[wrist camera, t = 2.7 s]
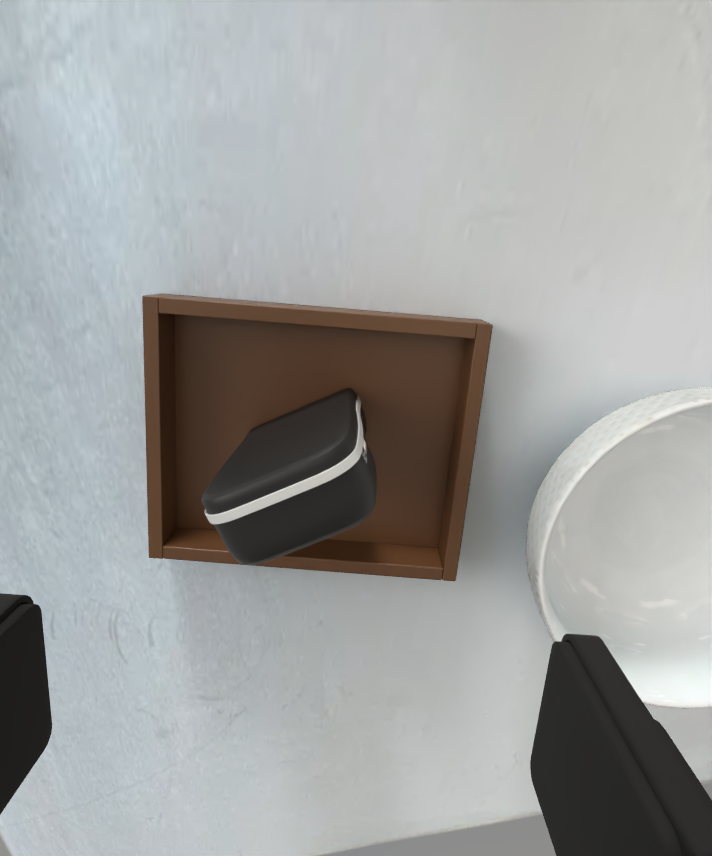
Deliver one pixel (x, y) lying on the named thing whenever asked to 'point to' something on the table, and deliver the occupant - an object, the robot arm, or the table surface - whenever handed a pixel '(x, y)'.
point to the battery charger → (295, 481)
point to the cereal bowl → (634, 544)
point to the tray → (303, 384)
